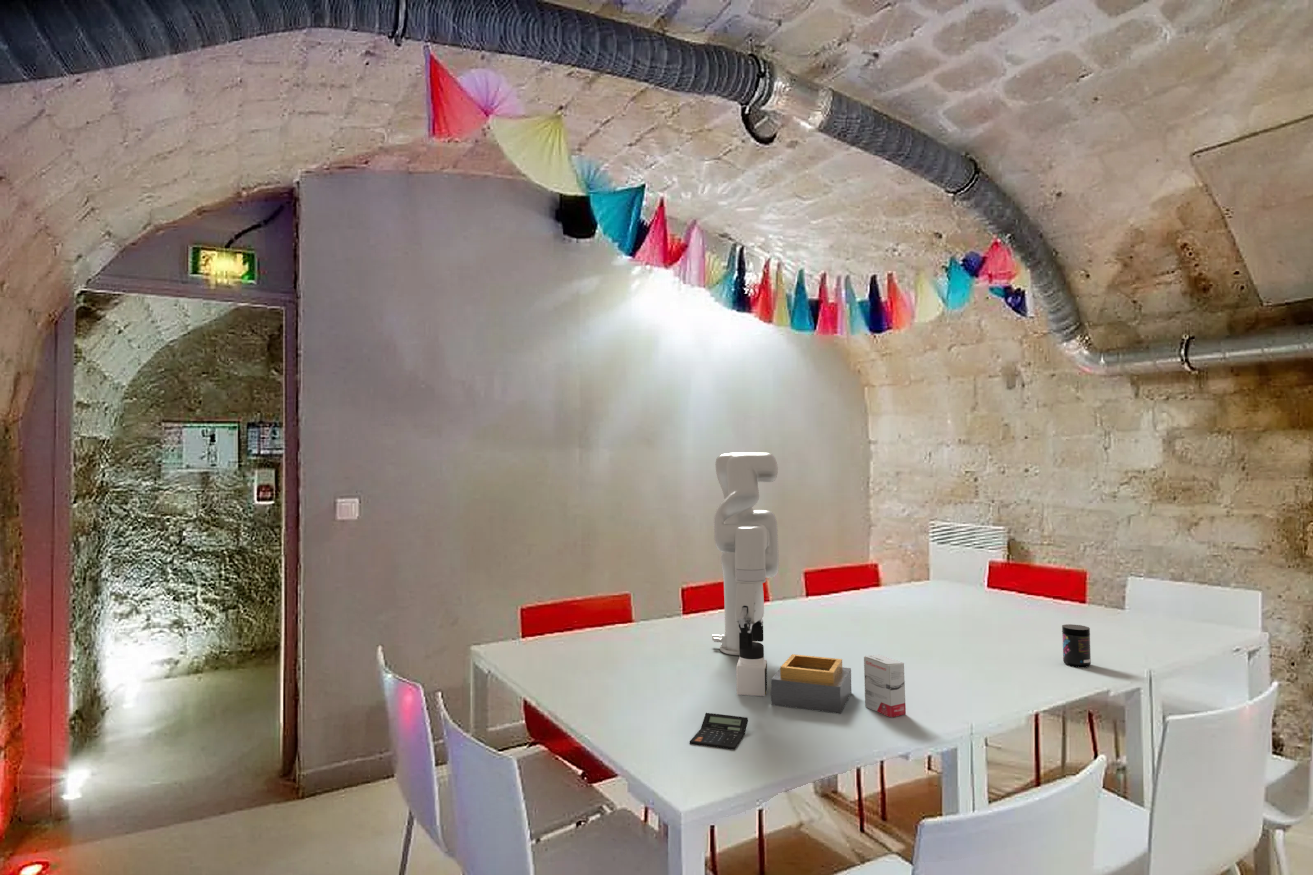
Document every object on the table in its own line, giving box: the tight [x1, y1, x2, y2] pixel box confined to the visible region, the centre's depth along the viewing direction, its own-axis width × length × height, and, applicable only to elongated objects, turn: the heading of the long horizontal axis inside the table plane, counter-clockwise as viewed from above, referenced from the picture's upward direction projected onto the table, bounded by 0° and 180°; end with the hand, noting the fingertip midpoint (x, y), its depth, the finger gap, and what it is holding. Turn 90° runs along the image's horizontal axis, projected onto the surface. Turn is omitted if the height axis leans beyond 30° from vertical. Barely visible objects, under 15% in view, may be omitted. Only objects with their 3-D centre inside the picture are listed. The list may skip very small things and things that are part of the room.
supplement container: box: [1061, 623, 1092, 668], centre depth 199 cm, size 7×7×10 cm
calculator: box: [689, 712, 749, 751], centre depth 149 cm, size 9×12×3 cm
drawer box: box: [770, 653, 852, 715], centre depth 174 cm, size 16×18×8 cm
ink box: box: [863, 654, 907, 718], centre depth 164 cm, size 9×5×12 cm, turn 25°
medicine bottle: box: [735, 641, 768, 697], centre depth 179 cm, size 7×7×12 cm
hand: (751, 645), depth 178 cm, fingers open, 9 cm apart
